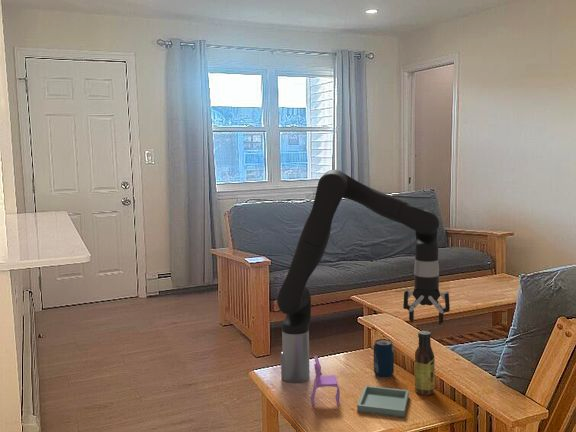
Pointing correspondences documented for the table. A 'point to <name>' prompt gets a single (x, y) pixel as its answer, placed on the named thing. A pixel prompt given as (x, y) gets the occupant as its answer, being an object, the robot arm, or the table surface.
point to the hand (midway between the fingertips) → (426, 322)
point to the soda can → (383, 358)
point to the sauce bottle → (424, 365)
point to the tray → (383, 401)
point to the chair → (323, 381)
